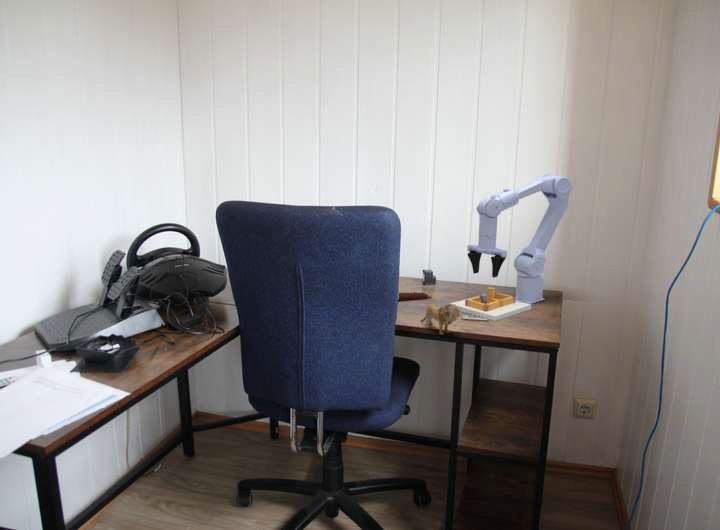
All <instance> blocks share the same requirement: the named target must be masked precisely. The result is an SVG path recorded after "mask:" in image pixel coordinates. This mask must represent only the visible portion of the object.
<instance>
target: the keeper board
mask: <svg viewBox="0 0 720 530" xmlns="http://www.w3.org/2000/svg"><path fill="white" fill-rule="evenodd" d="M485 294H486V293H483V294H479V295H476V296H473V297H469V298H465V299H461V300H458V301H455V302H454V301H453V302H450V303H449V304H456V306H457V308H458V310H460V311H461V313H462V312H463V313H465V314H468V315H469V314H470V315H472V316H475V315H476V316H475V317H479V316H480V318H482V317H483V319H486V320H489V319H490V320H489V321H493V322H497V321H499V320H504V319H505V318H508V317H512V316H515V315H517V314H521V313H523V312H526V311H529V310H531V309H532V304H527V303H523V302H519V301H515V303H513V304H509V305H506V306H503V307H500V308H496V309H493V310H490V311H487V312H486V311H482V310H479V309H475V308H471V307H468V306H465V300H467V299H470V298H474V297H477V296H480V299H481V303H484V304H487V296H483V295H485Z"/></svg>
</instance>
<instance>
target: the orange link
mask: <svg viewBox="0 0 720 530" xmlns="http://www.w3.org/2000/svg"><path fill="white" fill-rule="evenodd" d="M484 294H485V295H483V294H482V295H483V296H487V304H484V303H481V299H480V296H479V295H476V296H477V297H475V296H473V297H474V298H472V297H469V298H470V299H468V298H466V299H467V300H465V299H464V300H465V306H468V307H471V308H475V309H479V310H482V311H486V312H487V311H490V310H493V309H496V308H500V307H503V306H506V305H509V304H513V303H515V300H516V296H513V295H510V294H505V293H501V292H497V291H496V287H491V286H490V287H487V289H486V293H484Z"/></svg>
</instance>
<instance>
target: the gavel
mask: <svg viewBox="0 0 720 530" xmlns="http://www.w3.org/2000/svg"><path fill="white" fill-rule="evenodd" d="M398 293H399V300H398V301H417V300H419V301H420V300H427V299H429V298H432V295H431V294H429V293H426V292H398Z"/></svg>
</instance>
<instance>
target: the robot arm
mask: <svg viewBox="0 0 720 530" xmlns="http://www.w3.org/2000/svg"><path fill="white" fill-rule="evenodd" d="M572 189H573V185H572V182H571V179H570V178H569V177H568V176H566V175H552V174H544V175H543V176H539V177H537V178H536V179H533V181H530V182H528V183H526V184H524V185H522V186H521V187H519V188H517V189H515V190H514V189H512V188H504V189H503V191H502V192H499V193H497V194H492V195H491V197H490V198H486V197H485V198H483V199H481V200H480V201H479V202H478V204H477V206H476V211H477V213H478V215H479V217H478V219H479V223H478V224H479V225H478V240H477V241H478V243H477V244H478V245H475V244H474V245H472V244H469V245H468V244H467V246H466V247H467V249H466V252H468V253H467V256H468V259H469V261H470V263H471V267H472V274H478V273H479V271H480V261H481V258H482V254H483V255H484V254H486V255H491V257H490V260H491V267H492V268H491V269H492V270H491V277H492V278H497V277H498V276H499V274H500V270H501V267H502V266H503V264H504V261H506V259H507V257H508V250H504V249H501V248H498V247H497V232H498V231H497V229H498V217H499V216H500V214H501V213H502V212H503V211H506V210H508V209H510V208H512V207H514V206H516V205H518V204H519V202H520V200H521V199H523V198H526V197H529V196H532V195H534V194H536V193H539V192H542V194H543V196H544V197H545V198H546V200H547V202H548V206H547V207H548V208H547V209H546V211H545V213H544V215H543V217H542V219H541V221H540V223H539V225H538V226H537V229H536V231H535V233H534V235H533V237H532V238H531V241H530V243H529V244H528V246H526V247H525V248H523V249H521V252H520V253H519V254H518V255H517V256H516V257H515V258H514V261H513V267H514V269H515V270H516V285H515V286H516V288H515V297H516V300H515V301H519V302H523V303H527V304H531V305H532V304H535V303H538V302H541V301H544V300H545V298H544V297H543V292H544V279H543V277H542V274H543V272H544V270H545V263H546V261H547V257H546V254H545V251H546V249H547V247H548V245H549V243H550V241H552V240H551V239H552V237H553V235H554V234H555V232H556V230H557V227H558V226H559V223H560V222H561V220H562V218H563V216H564V214H565V212H566V210H567V208H568V205H569V198H570V194H571V192H572Z"/></svg>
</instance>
